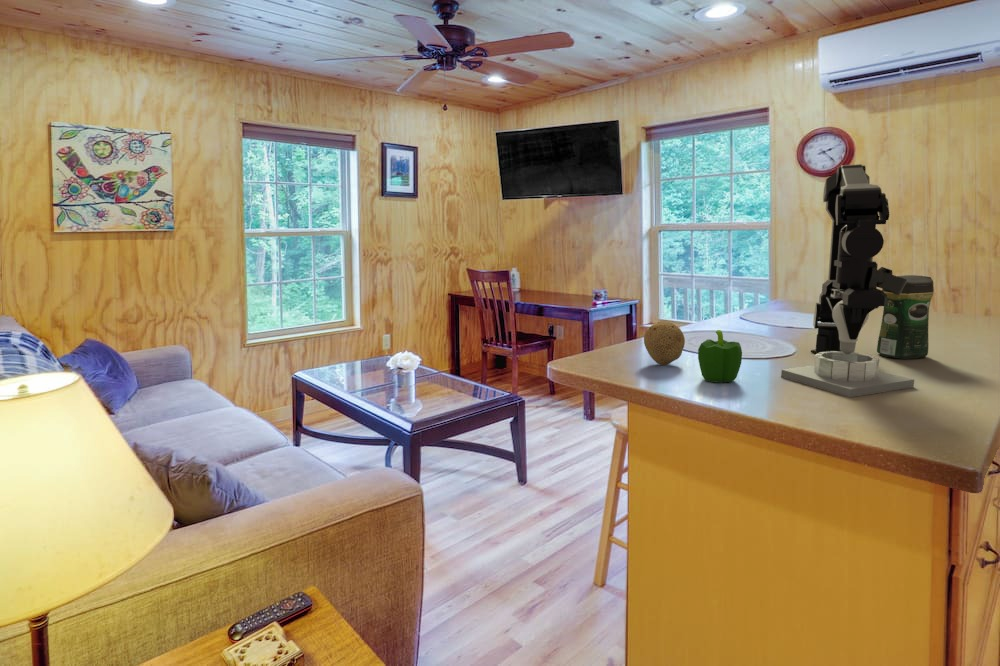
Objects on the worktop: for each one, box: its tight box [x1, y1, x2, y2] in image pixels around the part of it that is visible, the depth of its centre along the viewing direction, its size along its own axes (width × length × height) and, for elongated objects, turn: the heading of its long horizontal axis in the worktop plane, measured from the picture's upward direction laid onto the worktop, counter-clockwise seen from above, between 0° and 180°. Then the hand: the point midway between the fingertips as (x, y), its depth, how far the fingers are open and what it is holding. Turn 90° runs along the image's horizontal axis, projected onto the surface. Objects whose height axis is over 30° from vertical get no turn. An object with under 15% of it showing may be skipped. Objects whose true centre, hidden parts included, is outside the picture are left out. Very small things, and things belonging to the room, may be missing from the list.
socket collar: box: [814, 351, 880, 382], centre depth 116 cm, size 10×10×4 cm
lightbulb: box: [832, 300, 870, 354], centre depth 115 cm, size 6×6×11 cm
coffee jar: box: [876, 274, 934, 360], centre depth 135 cm, size 10×8×19 cm
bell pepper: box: [697, 329, 743, 383], centre depth 119 cm, size 8×8×10 cm
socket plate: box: [780, 364, 915, 398], centre depth 116 cm, size 16×16×2 cm
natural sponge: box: [643, 320, 686, 366], centre depth 133 cm, size 9×9×10 cm
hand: (848, 336), depth 115 cm, fingers closed on lightbulb, 5 cm apart
